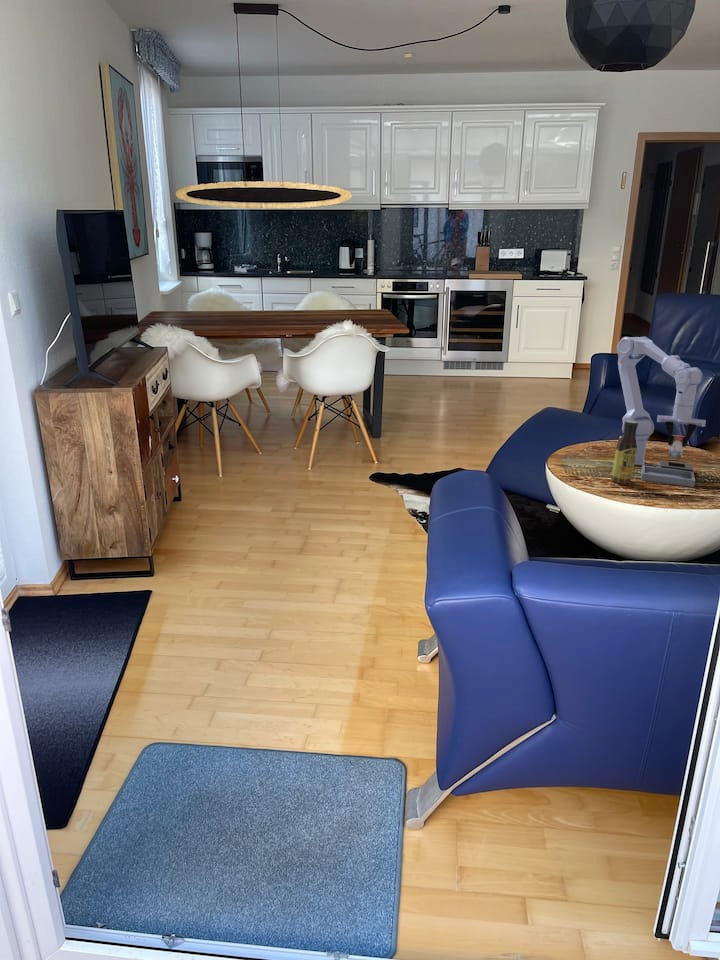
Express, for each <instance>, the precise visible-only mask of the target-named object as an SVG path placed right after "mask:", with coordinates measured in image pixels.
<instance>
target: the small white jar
mask: <svg viewBox="0 0 720 960" xmlns="http://www.w3.org/2000/svg"><path fill="white" fill-rule="evenodd" d="M684 440H685V436H684V435H679V434H672V438H671V445H669V451H668V457H669V458H672V459H682V456H683V451H684V447H683V445H684Z"/></svg>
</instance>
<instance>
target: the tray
mask: <svg viewBox="0 0 720 960" xmlns="http://www.w3.org/2000/svg"><path fill="white" fill-rule="evenodd" d="M695 477H696V476H695V474H694V471H693V472H690V471H683V470H675V469H667V468H660V466H653V465H652V466H650V465H641V470H640V480H641V481H646V482H652V483H653V482H655V483H661V484H668V485H674V486H675V485H676V486H683V487H691V488H694V487H695V484H696V478H695Z"/></svg>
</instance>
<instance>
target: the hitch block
mask: <svg viewBox="0 0 720 960" xmlns="http://www.w3.org/2000/svg"><path fill="white" fill-rule="evenodd" d="M659 463H660V464H659V467H660V468H667V469H675V470H683V471H690V472H694V466H693V463H687V462H678V461H669V460H663V459H661V460H660V462H659Z"/></svg>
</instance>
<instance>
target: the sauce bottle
mask: <svg viewBox="0 0 720 960" xmlns="http://www.w3.org/2000/svg"><path fill="white" fill-rule="evenodd" d="M637 427H638V422H636V421H628V420H627V421H625V422H624V431H622V435H621V436H622V437H621V438H620V437H619V439H618V441H617V444H616V448H615V451H614V453H615V454H614V458H613V459H614V460H613V463H612V464H613V465H612V469H611V478H610V480H611V481H612V482H614V483H616V484H622V485H623V484H624V485H626V484H627V485H628V484H630V483H631V482H632V478H633V473H634V468H635V465H634V463H635V458H636V452H637V444H636V437H635V436H636V429H637Z"/></svg>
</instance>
